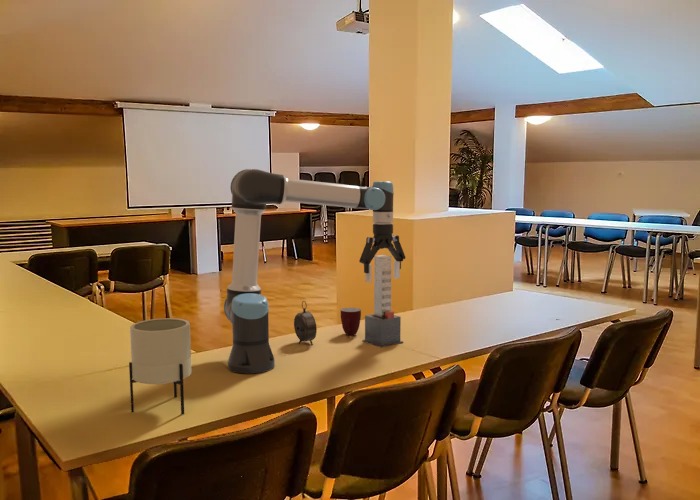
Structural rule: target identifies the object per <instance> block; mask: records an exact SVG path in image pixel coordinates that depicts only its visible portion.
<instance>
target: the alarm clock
mask: <svg viewBox="0 0 700 500" xmlns="http://www.w3.org/2000/svg"><path fill="white" fill-rule="evenodd" d="M304 303H305V308H304V306H303V304H304ZM301 308H302V311H300V312H298V313H296V314H295V317H294V319H293V328H294V332H295V335H296V337H297V339H298V340H299V341H298V345H301V342H304V343H305V342H309V343H310V345H311V346H314V344H313V340H314V339H315V338H316V336H317V331H318V330H317V329H318V328H317V323H316V319H315V316H314V315H313V313H312V312H310V311H308V310H306V309H307V302H306V301H304V300H303V301H302V302H301Z"/></svg>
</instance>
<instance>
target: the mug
mask: <svg viewBox="0 0 700 500" xmlns="http://www.w3.org/2000/svg"><path fill="white" fill-rule="evenodd" d="M361 317H362V309H361V308H358V307H344V308H340V322H341V326H342V330H343V332H344V333H345V335H346V336H349V337H350V336H356V334H357V333H358V331H359V329H360V323H361V319H362V318H361Z"/></svg>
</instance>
